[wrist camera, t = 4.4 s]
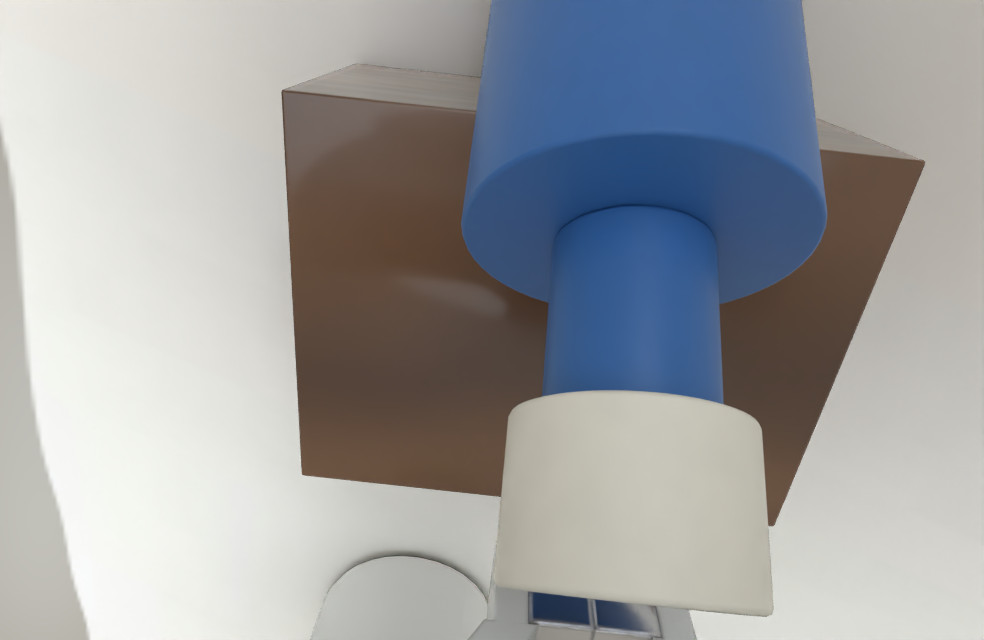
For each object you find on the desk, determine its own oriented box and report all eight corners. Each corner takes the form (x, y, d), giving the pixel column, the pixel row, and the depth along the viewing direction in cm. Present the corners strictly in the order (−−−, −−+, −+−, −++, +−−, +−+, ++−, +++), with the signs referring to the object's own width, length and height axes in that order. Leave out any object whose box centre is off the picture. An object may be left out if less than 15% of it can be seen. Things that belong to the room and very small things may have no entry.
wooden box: (353, 63, 18) (280, 89, 12) (806, 113, 18) (927, 161, 12) (354, 362, 22) (301, 475, 17) (714, 401, 22) (774, 527, 17)
